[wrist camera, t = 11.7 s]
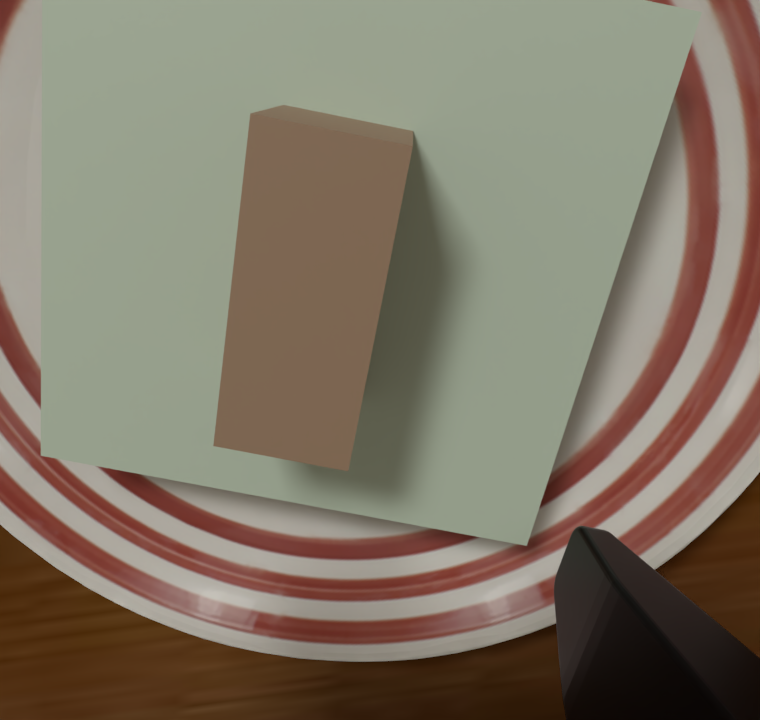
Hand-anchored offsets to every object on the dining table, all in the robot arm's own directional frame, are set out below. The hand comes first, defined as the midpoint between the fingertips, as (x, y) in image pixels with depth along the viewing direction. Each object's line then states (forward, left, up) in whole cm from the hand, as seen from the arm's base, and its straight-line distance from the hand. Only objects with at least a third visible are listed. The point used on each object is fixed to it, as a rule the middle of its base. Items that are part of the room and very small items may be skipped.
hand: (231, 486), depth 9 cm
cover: (0, 0, -10) cm, 10 cm away
